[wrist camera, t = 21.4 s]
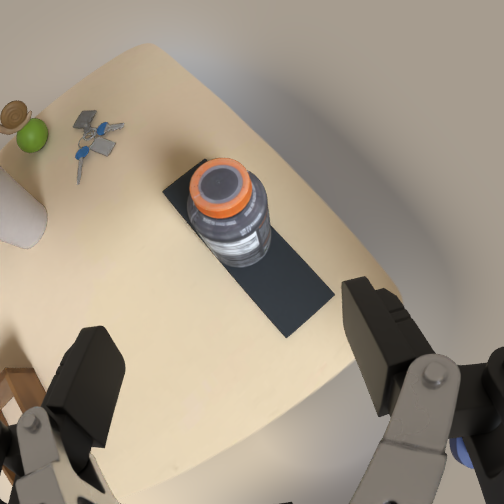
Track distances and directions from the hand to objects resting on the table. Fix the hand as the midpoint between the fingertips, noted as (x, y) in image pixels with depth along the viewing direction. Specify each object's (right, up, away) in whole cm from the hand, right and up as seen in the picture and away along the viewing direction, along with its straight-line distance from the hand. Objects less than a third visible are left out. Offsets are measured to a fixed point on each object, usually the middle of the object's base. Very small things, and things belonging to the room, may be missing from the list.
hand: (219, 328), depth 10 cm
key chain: (-20, +18, +27) cm, 38 cm away
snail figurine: (-32, +19, +29) cm, 47 cm away
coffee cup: (-29, +6, +25) cm, 38 cm away
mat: (0, +4, +21) cm, 21 cm away
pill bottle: (0, +4, +21) cm, 21 cm away
